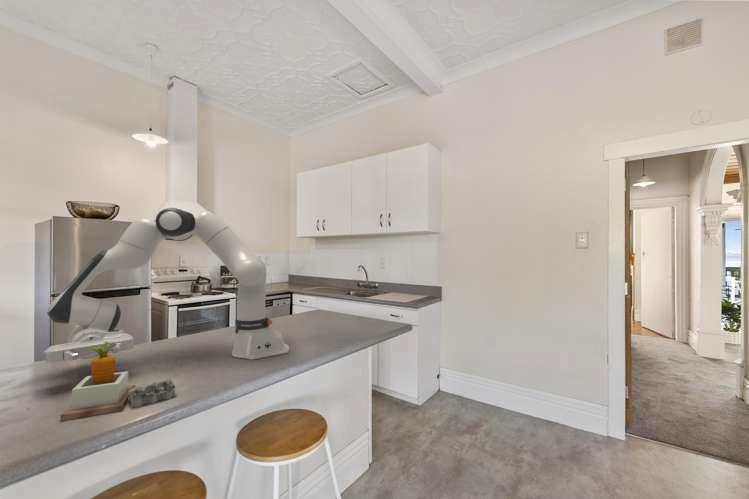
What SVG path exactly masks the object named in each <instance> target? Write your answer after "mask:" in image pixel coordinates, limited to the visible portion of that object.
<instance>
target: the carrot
mask: <svg viewBox="0 0 749 499" xmlns="http://www.w3.org/2000/svg"><path fill="white" fill-rule="evenodd" d="M109 348H110V345H109V342H105V349H103V350H102V349H101V347H98V349H97V348H95V347H94V348H93V350H95V351H96V352H97V353H98V354H99V356H97V357H94V358H92V360H91V376H92V381H93V385H100V384H108V383H112V380H113V376H114V373H115V368H116V357H114V356H113V355H111V354H109V353H108V350H109Z"/></svg>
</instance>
